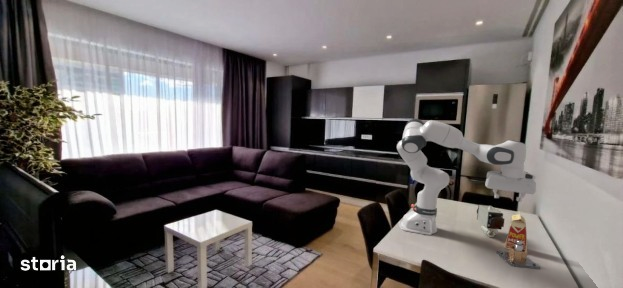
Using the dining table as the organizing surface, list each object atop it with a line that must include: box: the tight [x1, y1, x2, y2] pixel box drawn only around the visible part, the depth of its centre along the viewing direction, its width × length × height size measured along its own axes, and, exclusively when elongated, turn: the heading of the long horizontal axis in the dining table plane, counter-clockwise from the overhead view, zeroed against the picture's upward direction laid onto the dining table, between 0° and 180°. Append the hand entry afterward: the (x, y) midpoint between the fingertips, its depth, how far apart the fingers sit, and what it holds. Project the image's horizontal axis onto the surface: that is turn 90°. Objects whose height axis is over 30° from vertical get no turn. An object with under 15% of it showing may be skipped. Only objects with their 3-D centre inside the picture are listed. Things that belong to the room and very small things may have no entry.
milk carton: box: [503, 211, 528, 251], centre depth 133 cm, size 9×9×20 cm
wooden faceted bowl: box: [508, 246, 528, 262], centre depth 122 cm, size 7×7×5 cm
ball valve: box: [476, 204, 505, 238], centre depth 150 cm, size 18×8×18 cm, turn 168°
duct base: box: [496, 240, 541, 270], centre depth 122 cm, size 12×12×10 cm
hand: (507, 199), depth 126 cm, fingers open, 8 cm apart
